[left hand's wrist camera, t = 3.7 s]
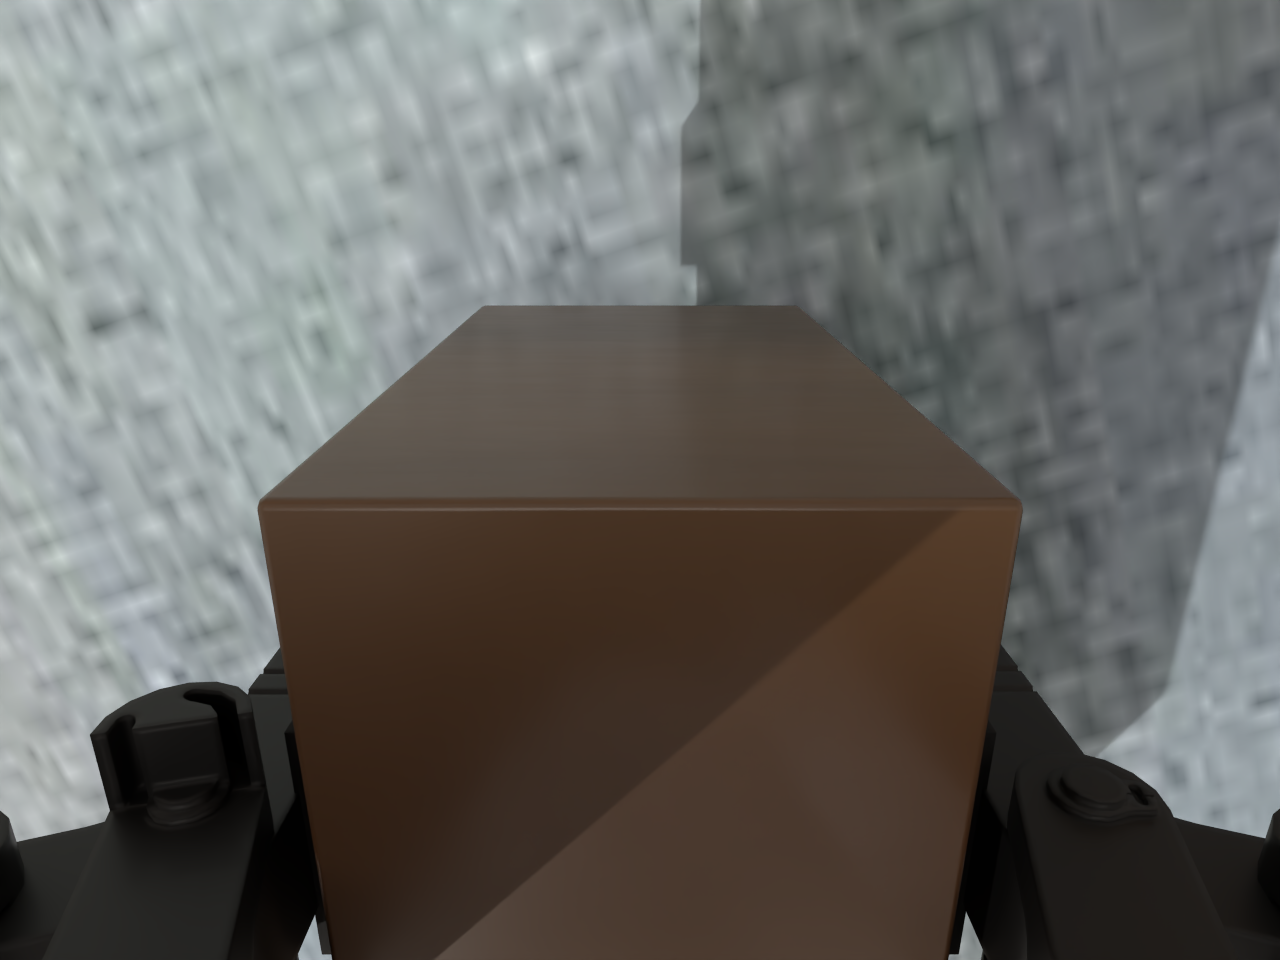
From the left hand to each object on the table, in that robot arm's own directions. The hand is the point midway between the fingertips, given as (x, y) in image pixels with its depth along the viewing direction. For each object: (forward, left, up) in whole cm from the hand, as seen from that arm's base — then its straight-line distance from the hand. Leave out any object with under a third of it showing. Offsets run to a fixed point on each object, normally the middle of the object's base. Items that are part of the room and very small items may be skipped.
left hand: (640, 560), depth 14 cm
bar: (-4, +7, 0) cm, 9 cm away
